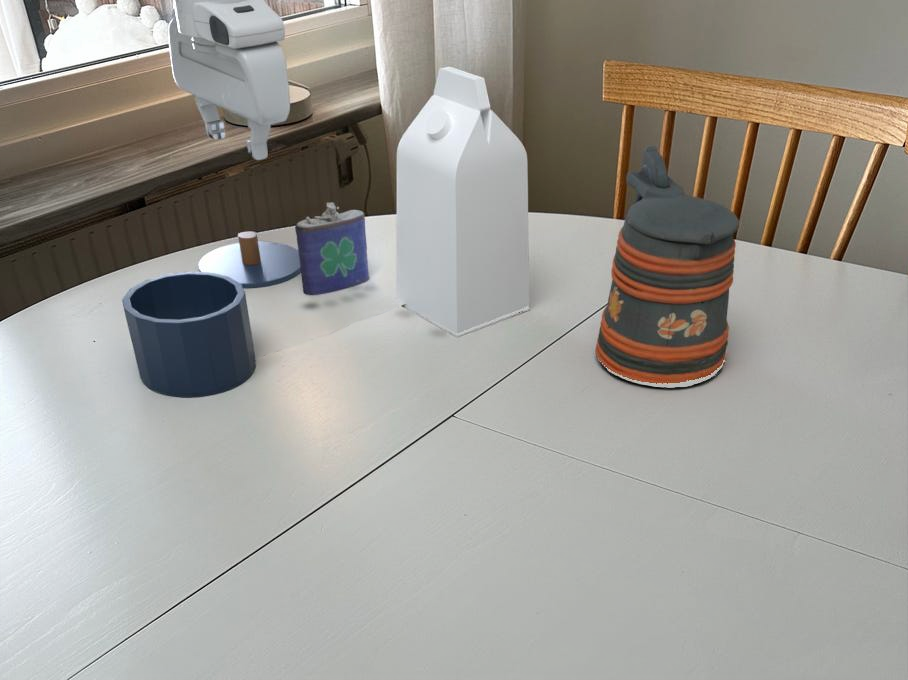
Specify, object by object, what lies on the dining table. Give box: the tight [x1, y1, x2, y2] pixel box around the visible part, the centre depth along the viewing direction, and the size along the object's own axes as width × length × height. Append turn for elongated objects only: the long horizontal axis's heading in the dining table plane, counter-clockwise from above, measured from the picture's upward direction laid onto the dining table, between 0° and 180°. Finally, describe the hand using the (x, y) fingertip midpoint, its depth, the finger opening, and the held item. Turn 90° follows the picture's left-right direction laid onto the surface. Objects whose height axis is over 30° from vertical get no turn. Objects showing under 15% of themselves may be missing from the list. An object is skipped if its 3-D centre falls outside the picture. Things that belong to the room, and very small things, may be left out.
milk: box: [395, 66, 530, 338], centre depth 117 cm, size 12×12×26 cm
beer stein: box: [595, 145, 740, 389], centre depth 111 cm, size 19×15×20 cm
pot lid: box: [198, 230, 301, 289], centre depth 131 cm, size 14×14×5 cm
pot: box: [121, 271, 257, 398], centre depth 110 cm, size 13×13×8 cm
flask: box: [294, 201, 370, 296], centre depth 125 cm, size 9×3×11 cm, turn 124°
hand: (237, 147), depth 119 cm, fingers open, 8 cm apart
